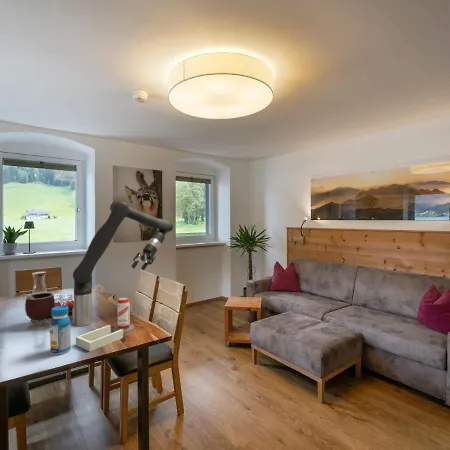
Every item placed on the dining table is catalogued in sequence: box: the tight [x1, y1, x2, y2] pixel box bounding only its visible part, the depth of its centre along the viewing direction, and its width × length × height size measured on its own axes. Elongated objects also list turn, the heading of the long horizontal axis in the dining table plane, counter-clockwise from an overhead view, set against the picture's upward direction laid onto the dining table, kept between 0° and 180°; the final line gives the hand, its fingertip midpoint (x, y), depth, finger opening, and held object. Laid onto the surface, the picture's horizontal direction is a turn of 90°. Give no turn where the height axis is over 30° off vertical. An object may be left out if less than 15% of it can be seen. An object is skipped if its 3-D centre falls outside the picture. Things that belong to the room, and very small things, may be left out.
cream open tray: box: [75, 324, 124, 352], centre depth 143 cm, size 18×11×4 cm, turn 146°
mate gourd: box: [22, 292, 56, 332], centre depth 162 cm, size 16×14×20 cm
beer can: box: [116, 296, 131, 329], centre depth 159 cm, size 6×6×16 cm
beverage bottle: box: [49, 305, 72, 356], centre depth 133 cm, size 8×8×20 cm
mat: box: [112, 323, 135, 334], centre depth 159 cm, size 11×11×1 cm
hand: (137, 268), depth 170 cm, fingers open, 8 cm apart
